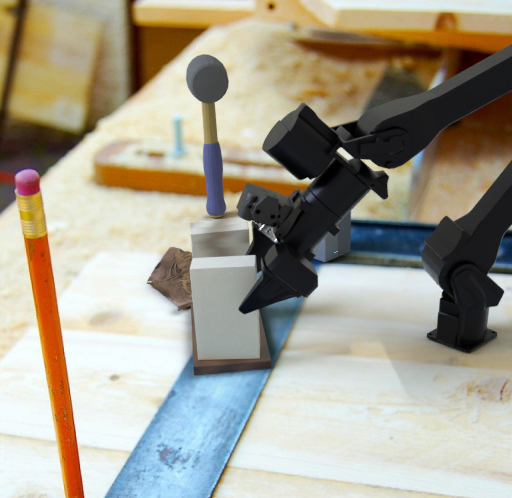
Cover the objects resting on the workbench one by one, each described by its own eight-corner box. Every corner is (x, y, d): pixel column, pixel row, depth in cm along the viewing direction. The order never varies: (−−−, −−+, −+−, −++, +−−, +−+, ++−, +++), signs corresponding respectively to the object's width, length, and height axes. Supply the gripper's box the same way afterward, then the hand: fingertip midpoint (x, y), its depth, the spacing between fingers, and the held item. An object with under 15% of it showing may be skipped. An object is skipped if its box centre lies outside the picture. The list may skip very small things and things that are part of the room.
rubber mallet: (195, 208, 158) (182, 54, 143) (231, 204, 157) (222, 49, 143) (200, 229, 147) (186, 64, 132) (239, 224, 147) (229, 58, 132)
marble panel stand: (257, 304, 116) (252, 214, 109) (271, 368, 99) (267, 266, 92) (191, 310, 116) (182, 221, 109) (194, 374, 100) (184, 274, 93)
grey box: (350, 251, 129) (351, 200, 125) (325, 262, 126) (325, 210, 122) (322, 243, 134) (322, 193, 129) (297, 253, 131) (296, 202, 127)
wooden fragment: (217, 306, 116) (217, 300, 116) (145, 313, 117) (145, 307, 116) (208, 245, 138) (208, 240, 138) (148, 251, 139) (148, 246, 139)
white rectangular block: (260, 345, 102) (255, 254, 96) (259, 358, 99) (255, 265, 93) (200, 347, 103) (192, 257, 97) (198, 360, 100) (189, 268, 94)
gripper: (266, 140, 97) (187, 232, 103) (285, 184, 80) (190, 289, 87) (330, 194, 100) (250, 280, 106) (360, 246, 84) (263, 344, 90)
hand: (238, 295), depth 97 cm, fingers open, 9 cm apart
